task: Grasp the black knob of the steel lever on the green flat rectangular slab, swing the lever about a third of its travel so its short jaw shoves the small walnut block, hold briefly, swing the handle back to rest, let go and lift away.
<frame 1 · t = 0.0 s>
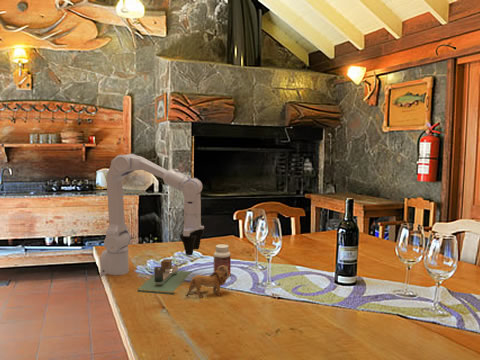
hand: (192, 252, 154), 10 cm above the table, tool pointing down, fingers open, 7 cm apart
walnut block: (166, 271, 161), point 1 cm above the table, touching green flat rectangular slab, lever
lever: (166, 269, 153), point 4 cm above the table, hinge at 0.0°, touching walnut block
green flat rectangular slab: (166, 282, 152), on the table
pill bottle: (222, 276, 160), on the table
lion figurine: (208, 294, 141), on the table
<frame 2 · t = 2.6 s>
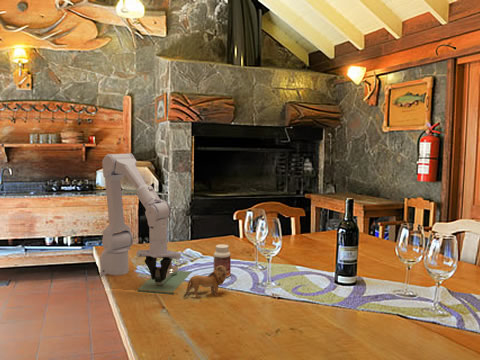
hand: (158, 279, 146), 3 cm above the table, tool pointing down, fingers closed on lever, 3 cm apart
lever: (166, 269, 153), point 4 cm above the table, hinge at 0.0°, touching gripper, walnut block
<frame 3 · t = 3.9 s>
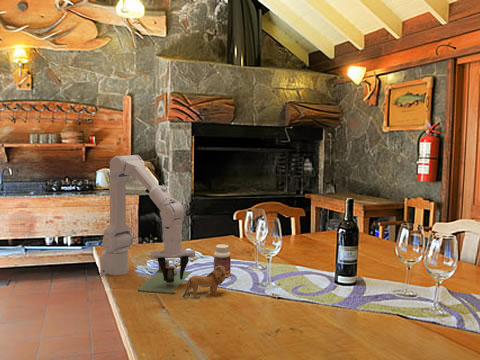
hand: (173, 279, 146), 3 cm above the table, tool pointing down, fingers open, 5 cm apart
lever: (170, 269, 153), point 4 cm above the table, hinge at 17.8°, touching gripper, walnut block
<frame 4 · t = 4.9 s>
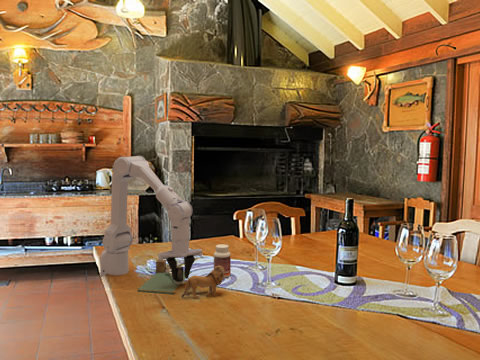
hand: (180, 278, 146), 3 cm above the table, tool pointing down, fingers open, 3 cm apart
walnut block: (161, 271, 161), point 1 cm above the table, touching green flat rectangular slab
lever: (173, 269, 153), point 4 cm above the table, hinge at 32.6°, touching gripper
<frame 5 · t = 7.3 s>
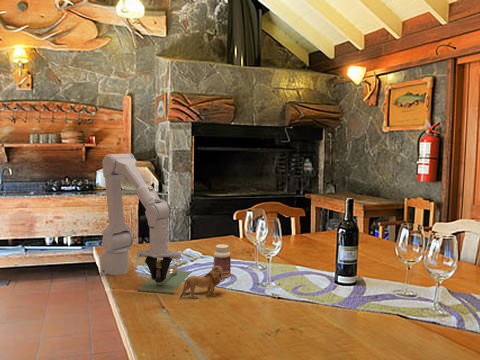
hand: (159, 279, 145), 3 cm above the table, tool pointing down, fingers closed on lever, 3 cm apart
lever: (166, 269, 153), point 4 cm above the table, hinge at 0.8°, touching gripper
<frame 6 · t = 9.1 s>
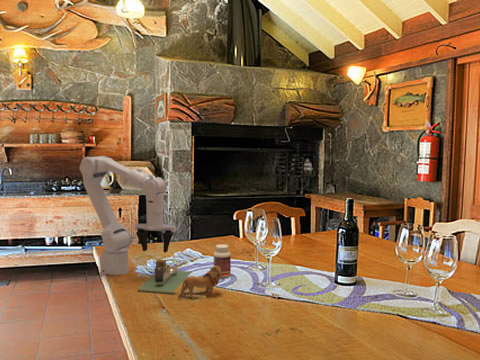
hand: (155, 251, 153), 10 cm above the table, tool pointing down, fingers open, 7 cm apart
lever: (166, 269, 153), point 4 cm above the table, hinge at 0.6°
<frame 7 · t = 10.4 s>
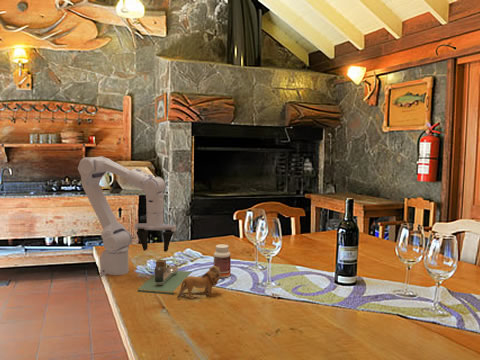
hand: (155, 250, 154), 10 cm above the table, tool pointing down, fingers open, 7 cm apart
at the end: lever at +1° (first picture: +0°); the gripper is holding nothing; walnut block moved 2.0 cm from its start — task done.
